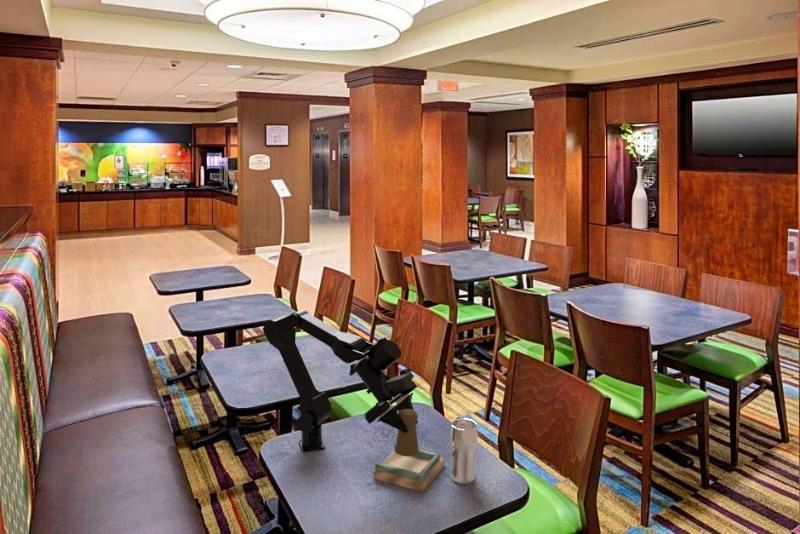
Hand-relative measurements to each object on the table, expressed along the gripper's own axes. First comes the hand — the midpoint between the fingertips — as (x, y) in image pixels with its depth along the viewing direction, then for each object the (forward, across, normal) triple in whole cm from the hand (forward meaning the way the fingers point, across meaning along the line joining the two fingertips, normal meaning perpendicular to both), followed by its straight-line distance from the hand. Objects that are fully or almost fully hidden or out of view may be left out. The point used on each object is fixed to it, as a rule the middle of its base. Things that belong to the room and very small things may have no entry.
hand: (411, 428), depth 152 cm
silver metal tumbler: (+18, +5, +1) cm, 19 cm away
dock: (+9, +1, +10) cm, 13 cm away
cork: (+4, 0, +6) cm, 7 cm away
